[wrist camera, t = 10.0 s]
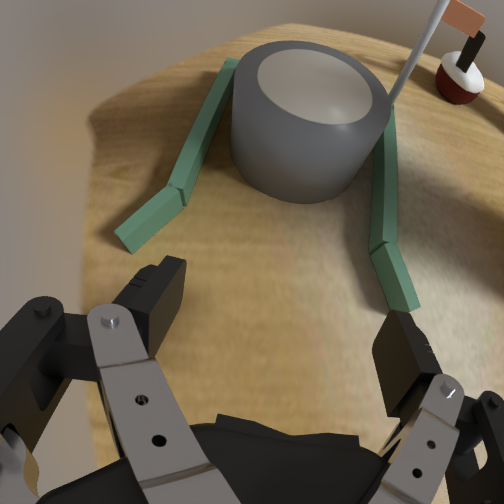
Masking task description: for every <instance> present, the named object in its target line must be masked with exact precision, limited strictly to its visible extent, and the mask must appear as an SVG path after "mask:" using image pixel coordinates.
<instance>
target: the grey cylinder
mask: <svg viewBox="0 0 504 504" xmlns="http://www.w3.org/2000/svg"><path fill="white" fill-rule="evenodd" d="M390 117H391V104H390V100H389V97H388V94H387V92H386V90H385V88H384V87H383V85H382V84H381V82H380V81H379V80H378V79H377V77H376V76H375V75H374V74H373V73H372V72H371V71H370V70H369V69H367V68H366V67H365V66H364V65H362V64H361V63H360V62H358V61H357V60H355V59H354V58H352V57H350V56H348V55H346V54H345V53H342V52H340V51H338V50H336V49H333V48H330V47H327V46H324V45H320V44H316V43H311V42H305V41H277V42H272V43H267V44H264V45H261V46H259V47H256V48H254V49H253V50H251V51H249V52H248V53H247V54H246V55H244V56H243V57H242V59H241V60H240V61H239V63H238V65H237V67H236V70H235V74H234V89H233V105H232V121H231V139H230V149H231V155H232V158H233V161H234V163H235V165H236V167H237V169H238V170H239V172H240V173H241V175H242V176H243V177H244V178H245V179H246V180H247V181H248V182H249V183H250V184H251V185H253V186H254V187H255V188H257V189H258V190H260V191H261V192H263V193H265V194H267V195H269V196H271V197H273V198H276V199H279V200H282V201H286V202H291V203H297V204H311V203H319V202H323V201H326V200H329V199H332V198H334V197H335V196H337V195H339V194H340V193H342V192H343V191H344V190H345V189H346V188H347V187H348V186H349V184H350V183H351V181H352V180H353V178H354V177H355V175H356V174H357V172H358V171H359V169H360V167H361V166H362V164H363V163H364V161H365V160H366V158H367V156H368V155H369V153H370V152H371V150H372V149H373V147H374V145H375V144H376V142H377V141H378V139H379V137H380V136H381V134H382V133H383V131H384V129H385V128H386V126H387V124H388V123H389V120H390Z"/></svg>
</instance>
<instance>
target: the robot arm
mask: <svg viewBox="0 0 504 504" xmlns="http://www.w3.org/2000/svg"><path fill="white" fill-rule="evenodd" d="M186 264H187V263H186V260H184V259H180V258H176V257H172V256H168V255H167V256H166V257H165V258H164V259H163V260H162V262H161V263H160V264H159V265H158V266H155V265H151V264H150V265H148V266H146V267H144V268H142V269H140V270H139V271H138V272H137V273H136V275H135V276H134V278H132V279H131V281H130V282H129V284H127V285H126V286H125V288H124V289H123V290H122V291H121V292H120V294H119V295H118V296H117V297H116V298H115V300H114V301H113V302H112V303H111V304H102V305H99V306H96V307H94V308H93V309H92V310H91V311H90V312H89V313H88V315H79V314H70V313H64V309H63V305H62V303H61V302H60V301H59V300H57V299H56V298H53V297H48V296H42V297H36V298H33V299H31V300H30V301H28V302H27V303H26V304H25V305H24V306H23V307H22V308H21V309H20V310H19V311H18V312H17V313H16V314H15V315H14V316H13V317H12V319H11V320H10V321H9V322H8V323H7V324H6V325H5V326H4V327H3V328H2V329H1V331H0V504H431V502H432V500H433V498H434V496H435V494H436V492H437V490H438V487H439V485H440V483H441V481H442V478H443V476H444V474H445V478H446V484H447V489H448V495H449V501H450V504H504V400H503V399H502V398H501V397H500V396H499V395H498V394H496V393H494V392H492V391H484V392H483V393H482V394H481V395H480V397H479V398H478V399H477V400H476V399H473V398H471V397H468V396H465V395H464V390H463V388H462V386H461V385H460V383H459V382H458V381H457V380H456V379H454V378H453V377H451V376H449V375H446V374H443V372H442V370H441V368H440V366H439V363H438V361H437V359H436V357H435V355H434V353H433V350H432V348H431V346H429V345H430V344H429V342H428V340H427V338H426V336H425V334H424V333H423V332H422V331H421V330H420V329H419V328H418V327H416V324H415V322H414V320H413V318H412V316H411V314H410V313H408V312H403V311H399V310H394V309H392V310H391V311H390V312H389V313H388V315H387V317H386V319H385V321H384V323H383V325H382V327H381V328H380V330H379V332H378V334H377V336H376V338H375V340H374V343H373V347H372V355H373V359H374V363H375V367H376V371H377V375H378V379H379V383H380V387H381V391H382V395H383V399H384V404H385V408H386V413H387V417H397V418H400V422H399V423H398V424H397V425H396V426H395V428H394V429H393V431H392V433H391V434H390V436H389V437H388V439H387V440H386V442H385V443H384V445H383V446H382V448H381V449H380V451H379V452H378V454H376V453H374V452H372V451H370V450H368V449H366V448H363V447H361V446H360V445H359V437H358V436H356V435H344V434H334V433H319V434H309V435H296V436H292V435H287V434H285V433H282V432H279V431H277V430H274V429H272V428H269V427H267V426H264V425H262V424H259V423H257V422H254V421H250V420H245V419H240V418H236V417H231V416H227V415H222V414H217V418H216V422H215V423H202V424H195V425H188V423H187V421H186V419H185V417H184V415H183V413H182V411H181V409H180V407H179V406H178V404H177V402H176V399H175V397H174V395H173V393H172V391H171V389H170V387H169V385H168V383H167V381H166V379H165V377H164V374H163V372H162V370H161V368H160V366H159V364H158V362H157V360H156V359H155V358H154V357H155V355H156V353H157V351H158V349H159V347H160V345H161V343H162V341H163V339H164V337H165V336H166V334H167V332H168V330H169V328H170V326H171V324H172V322H173V320H174V318H175V316H176V314H177V312H178V310H179V308H180V305H181V301H182V296H183V289H184V281H185V273H186ZM72 379H77V380H85V381H94V382H97V386H98V390H99V394H100V397H101V401H102V404H103V408H104V411H105V415H106V418H107V421H108V424H109V428H110V431H111V435H112V438H113V442H114V445H115V448H116V451H117V453H118V456H119V460H117V461H115V462H113V463H111V464H109V465H107V466H105V467H103V468H101V469H99V470H97V471H94V472H92V473H90V474H88V475H86V476H84V477H81V478H79V479H77V480H75V481H72V482H70V483H68V484H65V485H63V486H61V487H58V488H56V489H53V490H51V491H49V492H48V493H46V494H45V495H43V496H42V497H41V498H40V497H39V495H38V492H37V481H38V477H39V467H38V464H37V462H36V460H35V458H34V457H33V455H32V452H33V450H34V448H35V446H36V444H37V442H38V441H39V438H40V437H41V435H42V433H43V431H44V429H45V427H46V425H47V423H48V422H49V420H50V418H51V416H52V414H53V412H54V411H55V409H56V407H57V405H58V403H59V402H60V400H61V398H62V396H63V395H64V393H65V391H66V389H67V388H68V386H69V384H70V383H71V381H72ZM482 440H483V441H484V445H485V448H486V451H487V456H488V457H487V462H486V464H485V465H484V467H483V468H481V469H480V470H479V467H478V463H477V459H476V456H475V452H474V448H475V447H476V446H477V445H478V444H479V443H480V442H481V441H482Z"/></svg>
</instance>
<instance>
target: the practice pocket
mask: <svg viewBox="0 0 504 504" xmlns="http://www.w3.org/2000/svg"><path fill="white" fill-rule="evenodd" d="M485 19H486V17H485V16H483V15H482V14H480V13H479V12H477V11H475V10H474V9H472V8H470V7H469V6H467V5H465V4H464V3H462V2H460V1H458V0H438V1H437V4H436V5H435V7H434V9H433V11H432V14H431V16H430V17H429V19H428V21H427V23H426V25H425V27H424V29H423V31H422V33H421V35H420V37H419V39H418V41H417V43H416V45H415V46H414V49H413V50H412V52H411V54H410V56H409V58H408V60H407V62H406V64H405V65H404V67H403V69H402V71H401V73H400V75H399V77H398V78H397V80H396V82H395V84H394V86H393V88H392V89H391V91H390V93H389V95H388V97H389V100H390V104H391V117H390V120H389V123H388V124H387V126H386V128H385V129H384V131H383V133H382V134H381V136H380V137H379V139H378V141H377V142H376V144H375V145H374V152H373V189H372V209H371V225H370V238H369V249H368V252H369V253H373V254H372V255H370V257H371V260H372V263H373V265H374V268H375V270H376V273H377V275H378V278H379V281H380V283H381V286H382V289H383V291H384V294H385V297H386V300H387V302H388V305H389V308H390V311H391V310H392V309H394V310H399V311H403V312H411V311H413V310H415V309H417V308H419V307H421V306H420V303H419V300H418V297H417V295H416V292H415V289H414V286H413V284H412V281H411V278H410V276H409V273H408V271H407V268H406V266H405V263H404V261H403V258H402V256H401V253H400V251H399V248H398V246H397V233H398V164H397V142H396V127H395V115H394V104H393V103H394V102H395V100H396V98H397V97H398V95H399V93H400V91H401V90H402V88H403V86H404V84H405V83H406V81H407V79H408V77H409V76H410V74H411V72H412V70H413V69H414V67H415V65H416V63H417V61H418V60H419V58H420V56H421V54H422V52H423V51H424V48H425V47H426V45H427V43H428V41H429V39H430V38H431V36H432V34H433V32H434V30H435V28H436V27H437V25H438V23H439V21H440V20H442V21H444V22H445V23H447V24H449V25H451V26H453V27H455V28H457V29H458V30H460V31H462V32H464V33H466V34H467V35H469V36H471V37H472V38H474V37H475V35H476V34H477V32H478V31H479V29H480V27H481V26H482V24H483V22H484V20H485ZM239 61H240V60H238V59H232V58H227V59H226V61H225V63H224V64H223V66H222V68H221V70H220V72H219V74H218V76H217V78H216V80H215V82H214V84H213V85H212V87H211V89H210V91H209V93H208V95H207V97H206V99H205V101H204V103H203V106H202V108H201V110H200V112H199V114H198V116H197V118H196V120H195V122H194V124H193V126H192V129H191V131H190V133H189V135H188V137H187V139H186V142H185V144H184V146H183V148H182V151H181V153H180V155H179V157H178V160H177V162H176V164H175V167H174V169H173V171H172V174H171V176H170V179H169V181H168V183H167V186H166V187H165V188H163V189H162V190H161V191H160V192H159V193H157V194H156V195H155V196H154V197H153V198H151V199H150V200H149V201H148V202H147V203H146V204H144V205H143V206H142V207H141V208H140V209H139V210H137V211H136V212H135V213H134V214H133V215H132V216H131V217H129V218H128V219H127V220H126V221H125V222H124V223H123V224H122V225H120V226H119V227H118V228H117V229H116V230H115V231H114V232H115V234H116V235H117V236H118V238H119V239H120V240H121V242H122V243H123V244H124V246H125V247H126V248H127V249H128V250H129V251H130V252H131V254H133V253H135V252H136V251H137V250H138V249H139V248H140V247H141V246H142V245H143V244H144V243H145V242H147V241H148V240H149V239H150V238H151V237H152V236H153V235H154V234H155V233H157V232H158V231H159V230H160V229H161V228H162V227H163V226H164V225H166V224H167V223H168V222H169V221H170V220H171V219H172V218H173V217H175V216H176V215H177V214H178V213H179V212H180V211H182V210H183V206H187V204H188V201H189V198H190V195H191V193H192V190H193V187H194V185H195V182H196V179H197V177H198V174H199V171H200V169H201V166H202V164H203V161H204V158H205V156H206V153H207V151H208V148H209V146H210V143H211V141H212V138H213V136H214V133H215V131H216V128H217V126H218V124H219V121H220V119H221V116H222V114H223V112H224V109H225V107H226V105H227V102H228V100H229V98H230V95H231V93H232V91H233V89H234V74H235V70H236V67H237V65H238V63H239Z"/></svg>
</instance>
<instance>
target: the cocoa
mask: <svg viewBox="0 0 504 504" xmlns="http://www.w3.org/2000/svg"><path fill="white" fill-rule="evenodd" d="M484 40H485V35H484V34H483V33H482V32H480V31H478V32H477V34H476V35H475V37H474V38H472V37H471V36H469V38H468V40H467V42H466V44H465V46H464V48H463V50H462V52H460V51H455V52H451V53H446V54H445V55H444V56H443V57H442V58H441V64H440V66H439V68H438V70H437V73H436V78H435V79H436V84H437V87H438V89H439V91H440V92H441V94H442V95H443V96H444V97H445V98H446V99H448V100H449V101H451V102H453V103H456V104H459V105H460V104H467V103H469V102H471V101H472V100H473V99H475V98H476V97H477V96H478V94H479V93H480V92H481V91H482V90H484V81H483V78H482V75H481V73H480V71H479V70H478V69H477V67H476V65H475V64H474V62H473V60H474V59H475V57H476V55H477V53H478V51H479V49H480V47H481V46H482V44H483V42H484Z"/></svg>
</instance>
